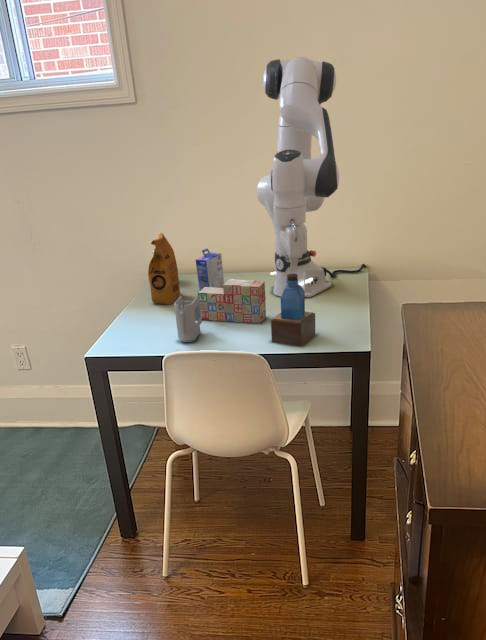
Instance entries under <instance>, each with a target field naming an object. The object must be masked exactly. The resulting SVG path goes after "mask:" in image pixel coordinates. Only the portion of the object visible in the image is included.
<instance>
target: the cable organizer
mask: <svg viewBox="0 0 486 640" xmlns="http://www.w3.org/2000/svg"><path fill="white" fill-rule="evenodd" d="M173 306H174V313H175V314H174V315H175V322H176V330H177V338H178V340H179V341H181V342H183V343H190V342H191V343H192V342H194V341H196V339H197V338H198V336H199V335H200V334H201V325H202V323H203V319H202V314H201V304H200V299H199V296H198V295H197V296H196V298H194V300H184V299H183V296H182V295H180V296H179V298H178V299H176V300H175V301H174V303H173Z"/></svg>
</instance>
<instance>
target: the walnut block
mask: <svg viewBox="0 0 486 640" xmlns="http://www.w3.org/2000/svg"><path fill="white" fill-rule="evenodd" d="M270 330H271V332H270V333H271V343H274V344H275V343H277V344H281V345H282V344H283V345H289V346H295V347H303V346H304V345H305V344H307V343H308V342H309V341H310V340H311V339H313V338H314V337H315V336H316V312H313V311H306V310H305V313H304V315H303V318H302V319H281V312H280V313H278V314H277V315H275V316H274V317H273V318H271V319H270Z"/></svg>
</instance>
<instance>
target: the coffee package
mask: <svg viewBox="0 0 486 640" xmlns="http://www.w3.org/2000/svg"><path fill="white" fill-rule="evenodd" d="M150 244H151V245H152V246H154V247H155V248H154V250H153V251H154V254H153V253H152V257H151V259H150V261H149V264H148V270H147V271H148V272H147V275H148V282H149V288H150V297H151V301H152V303H153V304H155V305H156V304H158V305H159V304H160V305H164V304H165V305H171V304H174V303H175V302H176V301H177V299H178V298H179V297H180V296H181V289H180V281H179V269H178V264H177V259H176V255H175V251H174V249H173V247H172V245H171V243H170V242H169V241H168V239H167V238H166V236H165V234H164V233H163V232H161V233H160V234H158V238H157V239H153V240H152V241H151V242H150Z"/></svg>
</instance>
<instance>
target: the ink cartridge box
mask: <svg viewBox="0 0 486 640" xmlns="http://www.w3.org/2000/svg"><path fill="white" fill-rule="evenodd" d="M201 252H202V254H203V256H200V257H199V258H197V259H195V267H196V275H197V283H198V289H199V291H201V290H202V289H203V288H204V287H212V288H213V287H214V288H223V284H225V276H224V266H223V265H224V264H223V256H222V253H219V252H218V253H217V252H210V250H209V248H204V249H202V250H201ZM206 252H207V253H206Z"/></svg>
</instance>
